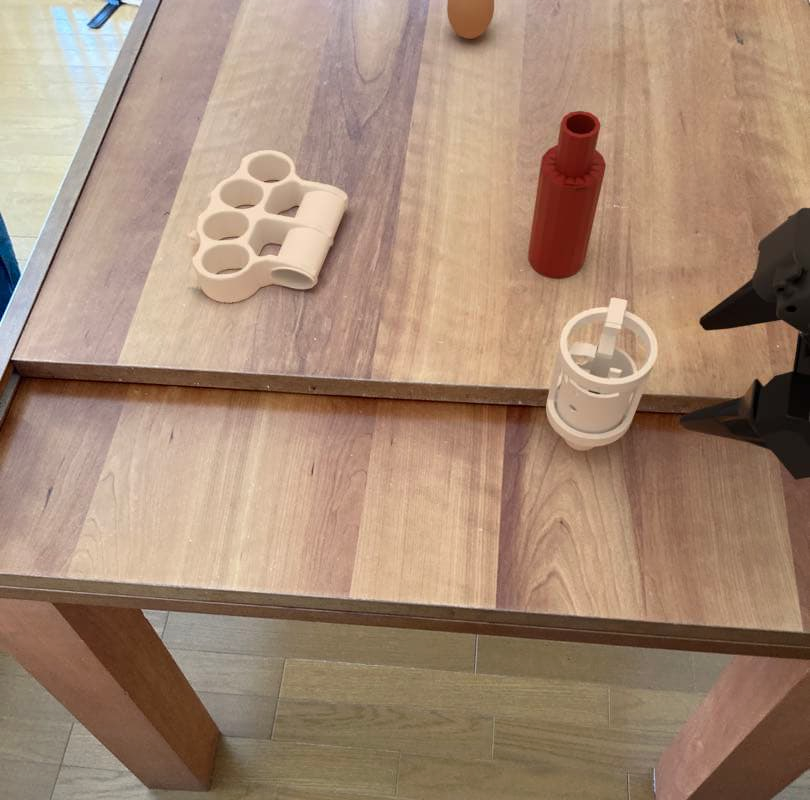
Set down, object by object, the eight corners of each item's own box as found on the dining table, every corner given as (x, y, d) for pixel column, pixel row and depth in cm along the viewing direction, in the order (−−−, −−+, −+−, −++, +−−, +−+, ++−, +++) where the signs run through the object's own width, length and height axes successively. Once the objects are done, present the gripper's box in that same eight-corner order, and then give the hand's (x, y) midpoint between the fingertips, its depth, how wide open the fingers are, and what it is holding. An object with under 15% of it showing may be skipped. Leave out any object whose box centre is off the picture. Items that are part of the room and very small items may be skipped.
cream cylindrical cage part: (624, 421, 73) (668, 306, 60) (611, 488, 70) (654, 383, 57) (546, 405, 74) (572, 288, 61) (530, 470, 71) (553, 363, 58)
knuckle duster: (306, 319, 79) (167, 292, 81) (359, 190, 87) (230, 168, 89) (301, 295, 76) (156, 267, 78) (356, 163, 84) (223, 141, 86)
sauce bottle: (576, 232, 83) (604, 97, 70) (590, 274, 81) (622, 141, 67) (522, 240, 83) (540, 106, 69) (535, 282, 81) (556, 151, 67)
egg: (454, 53, 96) (456, -8, 90) (441, 26, 98) (441, -36, 92) (498, 44, 96) (503, -18, 90) (483, 17, 99) (487, -46, 92)
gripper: (893, 91, 48) (656, 205, 59) (871, 336, 40) (604, 411, 52) (957, 224, 53) (730, 304, 65) (948, 459, 46) (693, 502, 58)
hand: (692, 372), depth 60 cm, fingers open, 9 cm apart
